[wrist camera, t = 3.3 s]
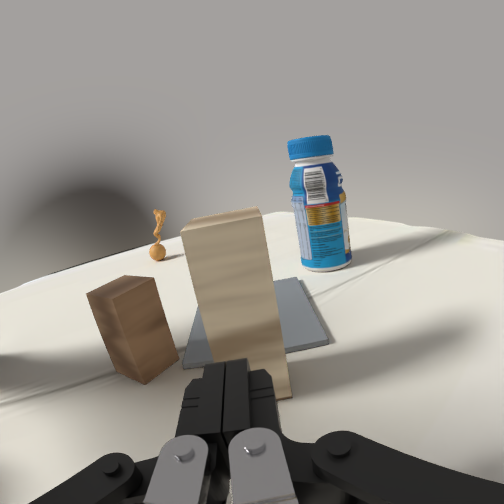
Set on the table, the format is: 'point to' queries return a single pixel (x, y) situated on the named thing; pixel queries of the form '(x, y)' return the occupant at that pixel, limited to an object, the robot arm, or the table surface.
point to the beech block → (237, 291)
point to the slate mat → (291, 319)
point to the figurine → (157, 249)
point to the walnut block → (134, 327)
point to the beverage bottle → (319, 205)
